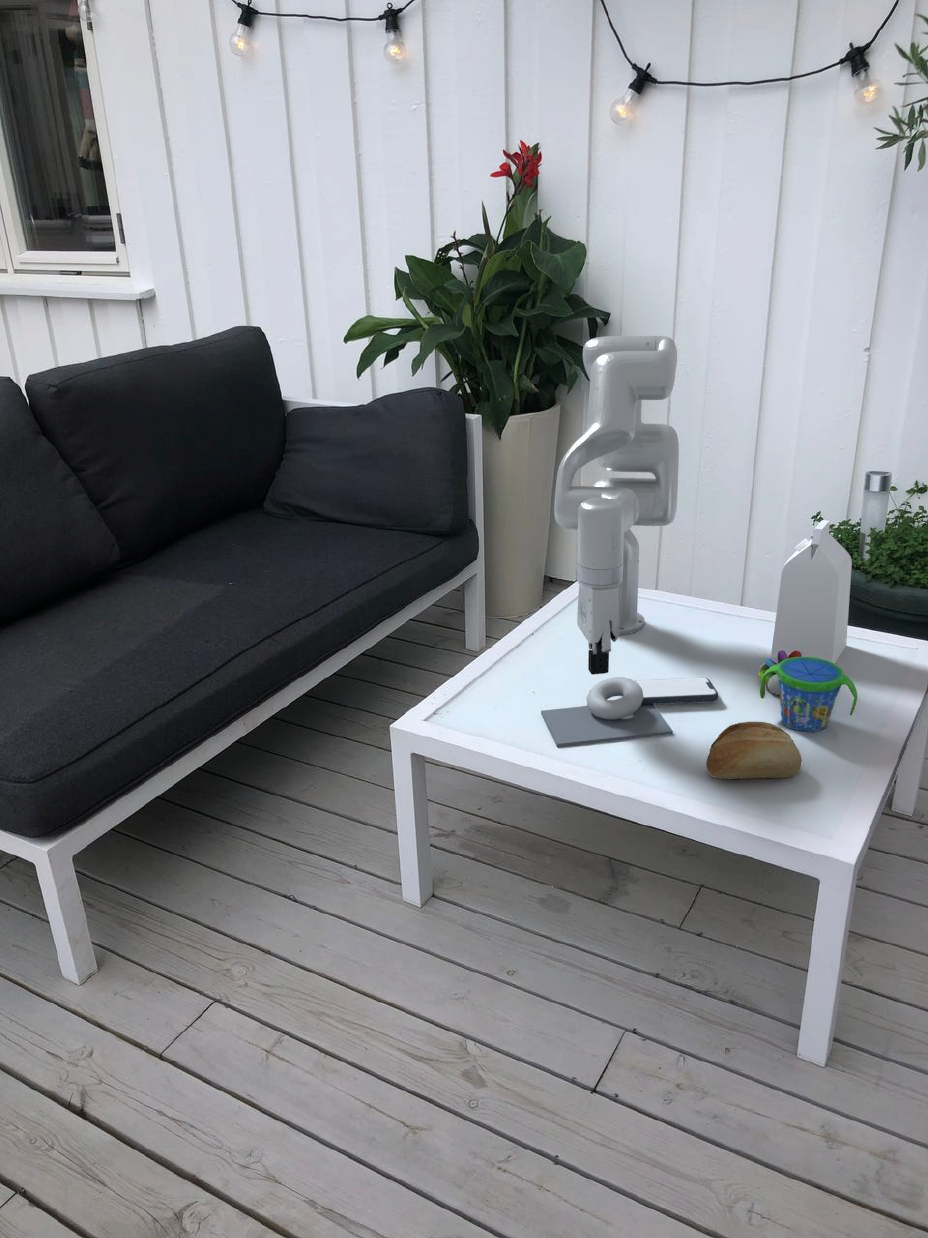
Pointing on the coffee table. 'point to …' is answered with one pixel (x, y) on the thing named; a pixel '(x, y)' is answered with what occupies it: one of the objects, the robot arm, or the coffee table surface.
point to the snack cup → (808, 691)
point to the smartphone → (677, 690)
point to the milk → (814, 599)
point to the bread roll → (753, 752)
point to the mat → (602, 725)
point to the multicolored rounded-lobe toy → (773, 677)
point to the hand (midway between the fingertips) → (598, 671)
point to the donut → (619, 706)
